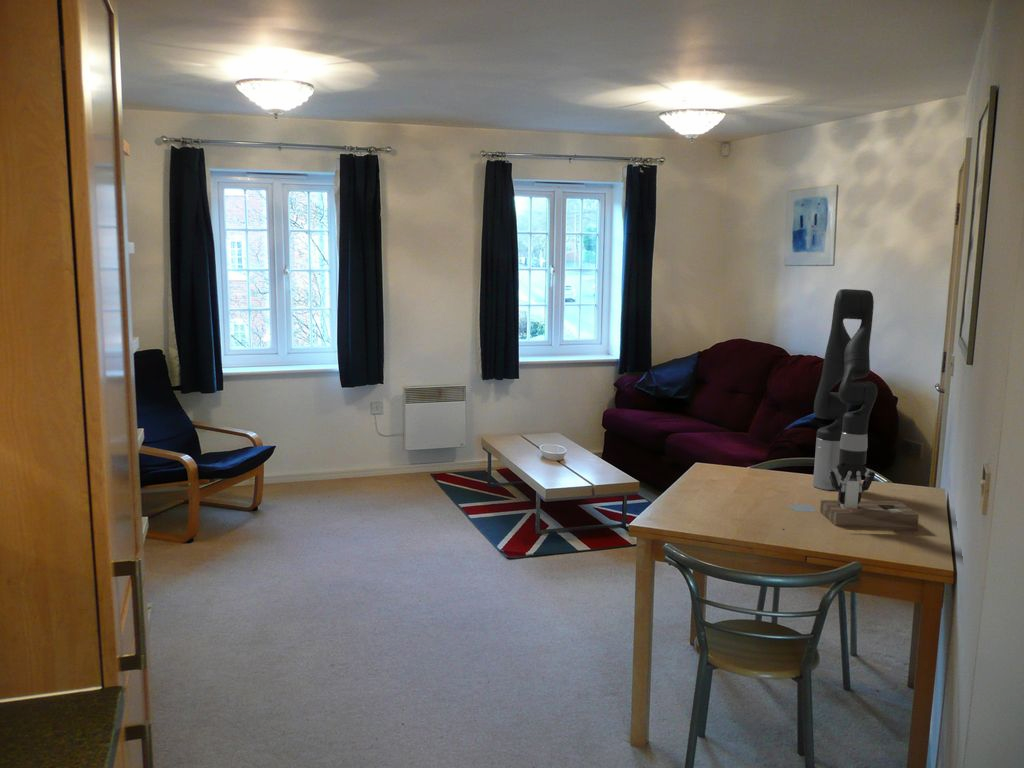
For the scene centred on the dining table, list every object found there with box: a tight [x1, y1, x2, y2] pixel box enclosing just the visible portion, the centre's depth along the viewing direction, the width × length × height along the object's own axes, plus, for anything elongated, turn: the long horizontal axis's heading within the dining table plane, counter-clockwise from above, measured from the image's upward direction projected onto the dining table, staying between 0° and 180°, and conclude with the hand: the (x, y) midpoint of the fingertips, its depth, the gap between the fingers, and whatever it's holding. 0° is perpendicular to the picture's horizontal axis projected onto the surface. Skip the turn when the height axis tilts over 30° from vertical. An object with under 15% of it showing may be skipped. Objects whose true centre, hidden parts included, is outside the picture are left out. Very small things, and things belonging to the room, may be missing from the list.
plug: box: [841, 479, 859, 509], centre depth 254 cm, size 4×4×10 cm
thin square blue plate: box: [788, 504, 819, 513], centre depth 266 cm, size 7×7×1 cm
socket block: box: [819, 499, 920, 532], centre depth 255 cm, size 13×24×5 cm, turn 89°
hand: (848, 503), depth 255 cm, fingers closed on plug, 3 cm apart
